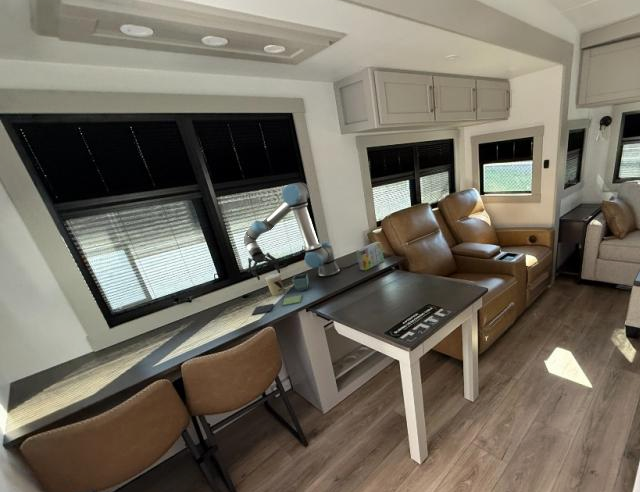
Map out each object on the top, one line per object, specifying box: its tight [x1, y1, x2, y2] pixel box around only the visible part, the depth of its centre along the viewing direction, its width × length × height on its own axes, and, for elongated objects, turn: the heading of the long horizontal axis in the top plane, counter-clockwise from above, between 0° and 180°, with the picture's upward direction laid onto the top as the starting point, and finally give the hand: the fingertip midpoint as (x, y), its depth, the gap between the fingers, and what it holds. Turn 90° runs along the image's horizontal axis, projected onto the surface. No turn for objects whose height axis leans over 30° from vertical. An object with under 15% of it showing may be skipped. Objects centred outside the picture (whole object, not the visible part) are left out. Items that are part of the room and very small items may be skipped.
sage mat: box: [281, 294, 303, 307], centre depth 189 cm, size 10×10×1 cm
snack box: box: [355, 241, 385, 272], centre depth 228 cm, size 21×6×15 cm, turn 141°
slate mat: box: [251, 303, 275, 316], centre depth 183 cm, size 10×10×1 cm
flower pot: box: [291, 273, 310, 292], centre depth 203 cm, size 9×9×9 cm
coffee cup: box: [264, 273, 285, 296], centre depth 203 cm, size 9×9×12 cm
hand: (269, 275), depth 205 cm, fingers open, 13 cm apart
